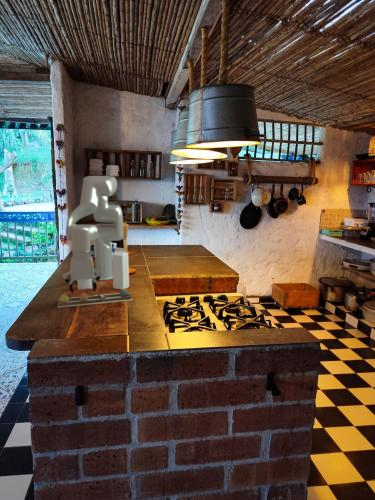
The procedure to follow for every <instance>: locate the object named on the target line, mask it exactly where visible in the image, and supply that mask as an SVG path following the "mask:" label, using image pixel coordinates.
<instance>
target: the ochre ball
mask: <svg viewBox="0 0 375 500" xmlns="http://www.w3.org/2000/svg"><path fill="white" fill-rule="evenodd" d="M69 298H70V297H69V296H68V295H67V294H62V295H60V296H59V299H60V302H61V303H67V302H68V301H69Z"/></svg>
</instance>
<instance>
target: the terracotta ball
mask: <svg viewBox="0 0 375 500" xmlns="http://www.w3.org/2000/svg"><path fill="white" fill-rule="evenodd" d="M88 296H89V295H88V293H85V292H81V293H80V294H79V296H78V297H79V299H80V300H81V301H87V300H88Z"/></svg>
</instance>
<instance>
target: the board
mask: <svg viewBox="0 0 375 500" xmlns="http://www.w3.org/2000/svg"><path fill="white" fill-rule="evenodd" d="M119 293H120V292H119ZM119 293H118V292H117V293H116V294H119ZM110 294H111V293H109V294H108V293H106V294H103V293H102V294H101V295H102V298H103V295H110ZM99 295H100V294H95V295H94V296H99ZM89 296H90V295H88V297H89ZM78 297H79V296H77V297H73V298H78ZM119 297H120V296H119ZM127 297H128V296H127ZM109 298H118V297H109ZM98 299H100V298H98ZM98 299H88V300H98ZM106 299H108V298H106ZM78 301H81V300H78ZM126 301H133V298H132V297H131V299H128V300H118V301H108V302H105V301H104V298H103V302H98V303H88V304H78V305H68V306H58V307H57V308H66V307H67V308H68V307H77V306H87V305H96V304H108V303H117V302H126ZM68 302H77V301H68ZM59 303H61V302H59ZM57 308H56V309H57Z"/></svg>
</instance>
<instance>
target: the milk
mask: <svg viewBox="0 0 375 500" xmlns="http://www.w3.org/2000/svg"><path fill="white" fill-rule="evenodd" d="M129 263H130V262H129V253H128V252H127V251H126V248H124V247H123V248H122V247H115V249H114V251H113V252H112V271H113V279H112V285H113V289H118V290H123V289H125V290H126V289H127V288H129V287H130V270H129Z"/></svg>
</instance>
